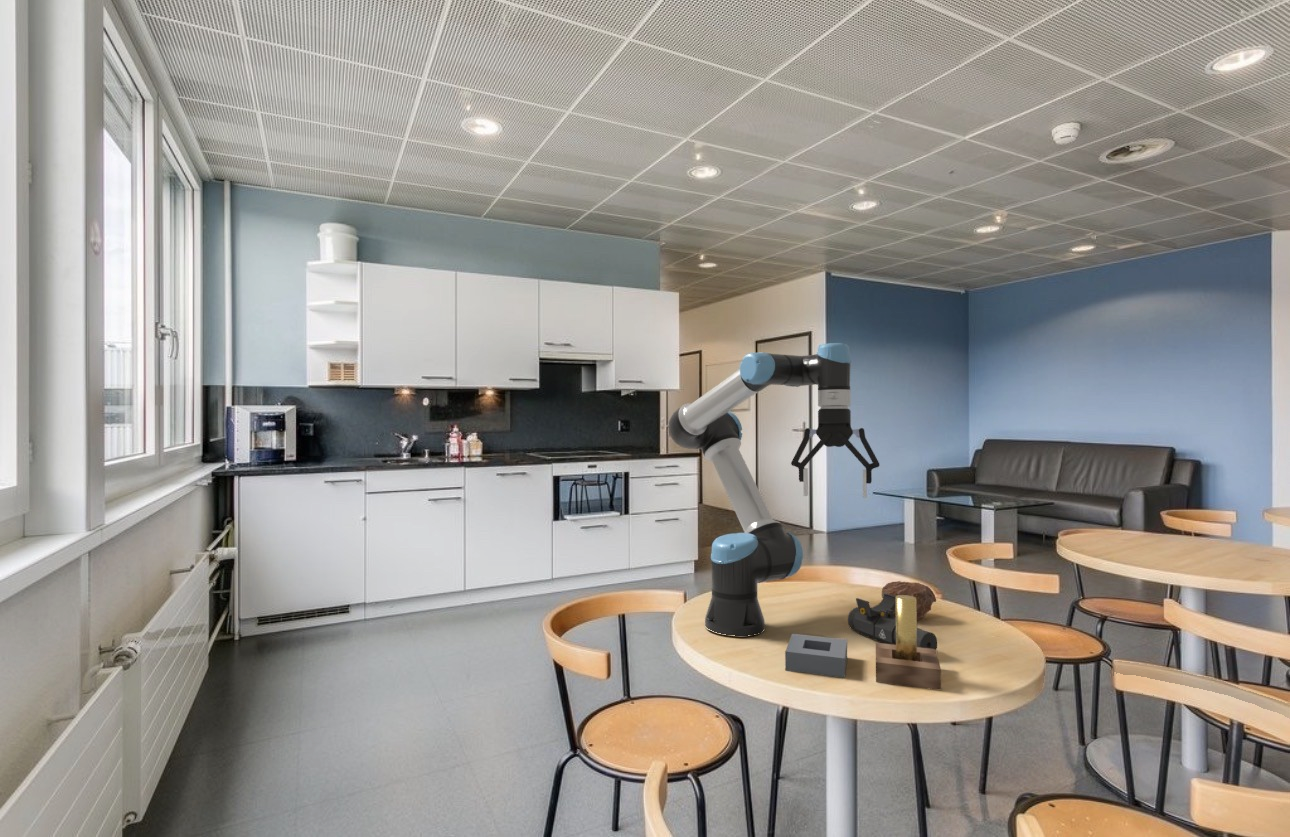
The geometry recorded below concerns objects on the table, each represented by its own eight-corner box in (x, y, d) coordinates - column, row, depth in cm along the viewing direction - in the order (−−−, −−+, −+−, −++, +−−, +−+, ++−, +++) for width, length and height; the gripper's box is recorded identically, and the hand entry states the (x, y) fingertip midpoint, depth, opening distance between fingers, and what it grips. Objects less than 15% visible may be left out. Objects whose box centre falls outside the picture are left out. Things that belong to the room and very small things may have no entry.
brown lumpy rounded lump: (942, 619, 168) (941, 581, 168) (919, 627, 161) (919, 588, 161) (896, 608, 178) (896, 572, 178) (873, 615, 171) (873, 578, 172)
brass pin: (896, 677, 130) (895, 599, 130) (895, 670, 133) (895, 594, 134) (917, 679, 128) (916, 601, 128) (916, 672, 132) (915, 596, 132)
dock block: (875, 681, 127) (875, 662, 127) (875, 660, 139) (875, 642, 139) (941, 690, 123) (940, 669, 123) (935, 667, 134) (935, 649, 134)
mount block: (785, 670, 134) (785, 651, 134) (792, 651, 145) (792, 633, 145) (844, 677, 129) (844, 658, 129) (847, 657, 141) (847, 639, 141)
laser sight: (913, 663, 138) (913, 617, 138) (839, 632, 158) (838, 592, 158) (943, 655, 142) (943, 611, 142) (867, 627, 162) (867, 588, 162)
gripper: (779, 408, 152) (780, 496, 152) (890, 407, 144) (890, 500, 144) (783, 409, 159) (784, 493, 159) (889, 407, 151) (890, 496, 151)
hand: (834, 496), depth 151 cm, fingers open, 13 cm apart
